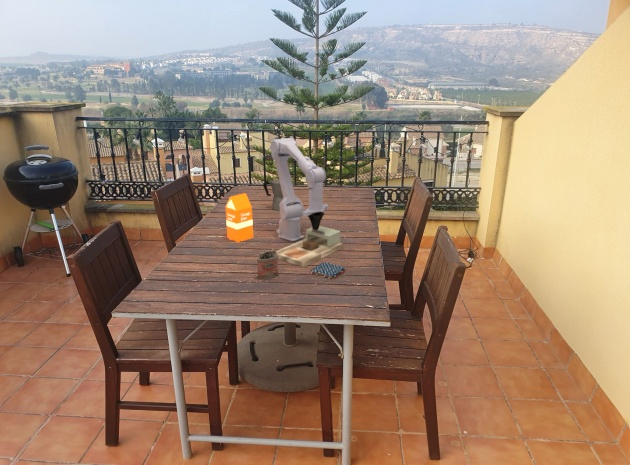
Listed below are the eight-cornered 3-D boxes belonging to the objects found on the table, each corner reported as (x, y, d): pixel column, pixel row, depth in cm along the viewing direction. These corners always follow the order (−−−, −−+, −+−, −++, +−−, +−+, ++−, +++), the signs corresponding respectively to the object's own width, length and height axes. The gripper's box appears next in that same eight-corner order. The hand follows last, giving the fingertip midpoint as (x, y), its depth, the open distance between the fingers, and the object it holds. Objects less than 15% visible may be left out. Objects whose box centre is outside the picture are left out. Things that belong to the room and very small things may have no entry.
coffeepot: (290, 205, 256) (290, 173, 250) (293, 210, 247) (293, 177, 241) (263, 207, 253) (261, 174, 247) (265, 212, 244) (263, 178, 238)
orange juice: (253, 237, 208) (251, 194, 201) (237, 242, 202) (235, 198, 195) (242, 233, 213) (240, 191, 206) (227, 238, 207) (224, 195, 200)
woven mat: (333, 281, 166) (333, 276, 165) (308, 274, 172) (308, 269, 171) (347, 271, 174) (347, 266, 174) (323, 265, 180) (323, 260, 179)
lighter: (259, 279, 166) (258, 254, 163) (256, 276, 169) (255, 251, 166) (280, 275, 170) (279, 250, 166) (276, 272, 172) (275, 247, 169)
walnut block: (302, 252, 191) (302, 242, 190) (309, 249, 195) (309, 239, 193) (311, 254, 189) (311, 244, 187) (317, 251, 192) (317, 241, 190)
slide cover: (305, 240, 198) (305, 228, 196) (317, 235, 204) (317, 223, 202) (328, 246, 190) (329, 234, 189) (340, 241, 196) (340, 229, 194)
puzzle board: (273, 257, 186) (272, 252, 185) (313, 239, 205) (313, 234, 204) (303, 267, 177) (303, 262, 176) (342, 247, 196) (342, 243, 195)
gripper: (312, 203, 179) (311, 236, 183) (334, 195, 189) (333, 226, 194) (298, 200, 183) (298, 232, 188) (320, 192, 194) (320, 223, 198)
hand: (315, 229), depth 191 cm, fingers closed
